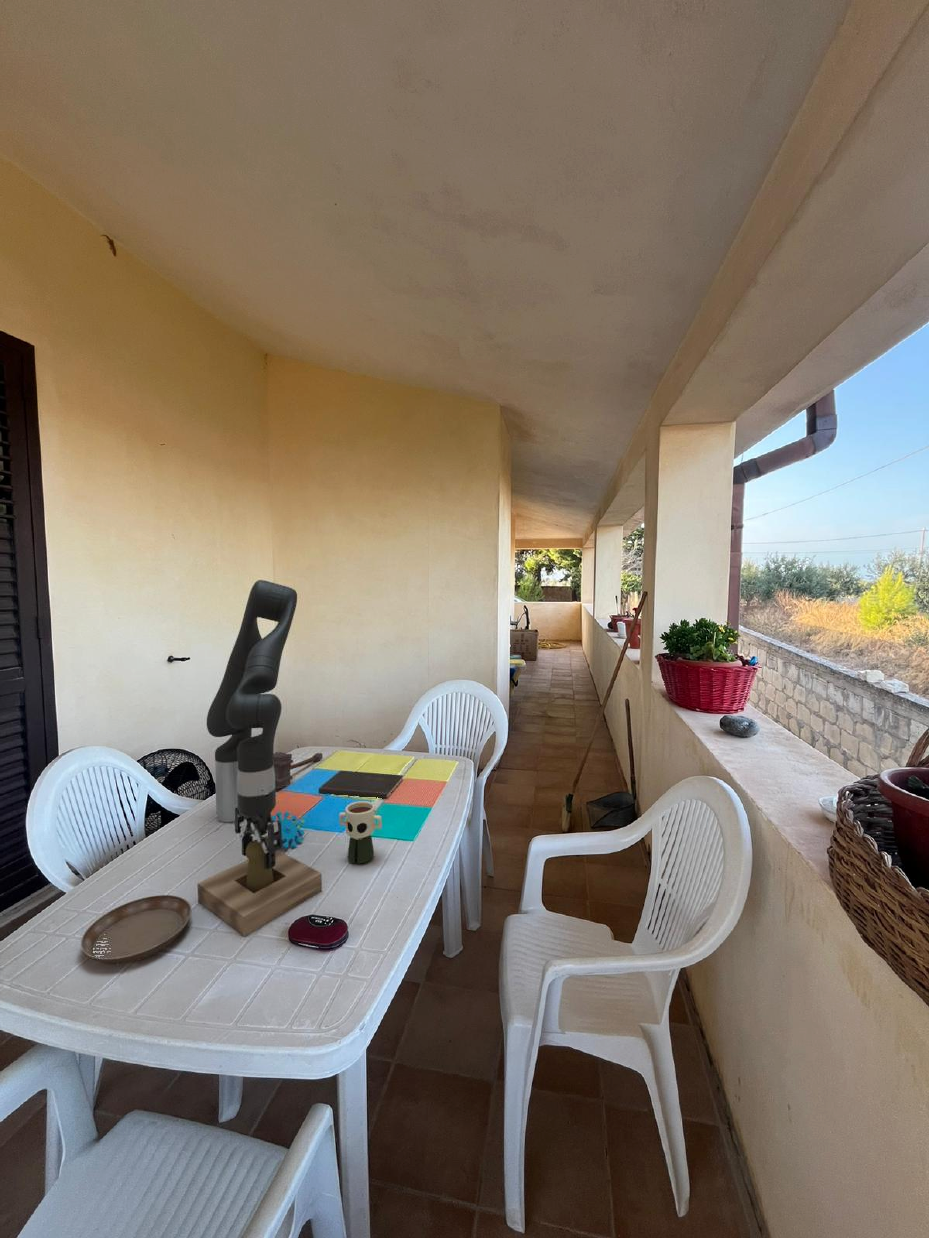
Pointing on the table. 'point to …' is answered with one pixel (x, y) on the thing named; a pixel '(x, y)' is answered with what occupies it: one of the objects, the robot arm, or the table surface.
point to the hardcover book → (361, 784)
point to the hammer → (288, 767)
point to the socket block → (258, 893)
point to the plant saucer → (137, 929)
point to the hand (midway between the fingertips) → (258, 860)
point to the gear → (289, 829)
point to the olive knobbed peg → (257, 868)
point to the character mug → (360, 829)
